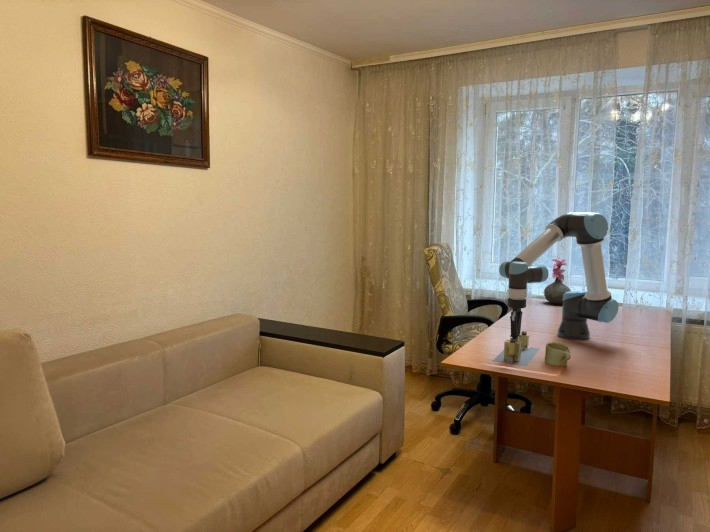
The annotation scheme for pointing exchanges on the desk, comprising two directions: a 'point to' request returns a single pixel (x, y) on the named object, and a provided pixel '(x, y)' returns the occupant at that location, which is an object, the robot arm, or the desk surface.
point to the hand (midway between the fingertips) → (514, 351)
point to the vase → (556, 285)
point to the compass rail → (524, 344)
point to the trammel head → (512, 349)
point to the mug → (557, 354)
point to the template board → (525, 356)
